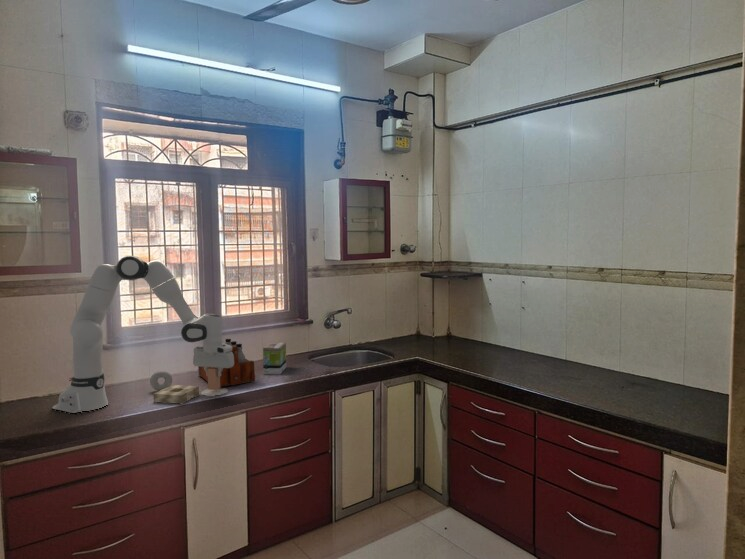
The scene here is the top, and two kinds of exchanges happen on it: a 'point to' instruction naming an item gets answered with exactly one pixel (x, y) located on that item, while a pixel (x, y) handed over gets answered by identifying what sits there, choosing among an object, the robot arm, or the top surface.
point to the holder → (176, 394)
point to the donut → (156, 376)
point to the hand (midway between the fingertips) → (213, 376)
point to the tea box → (274, 358)
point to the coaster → (214, 392)
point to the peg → (213, 378)
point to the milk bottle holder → (234, 368)
